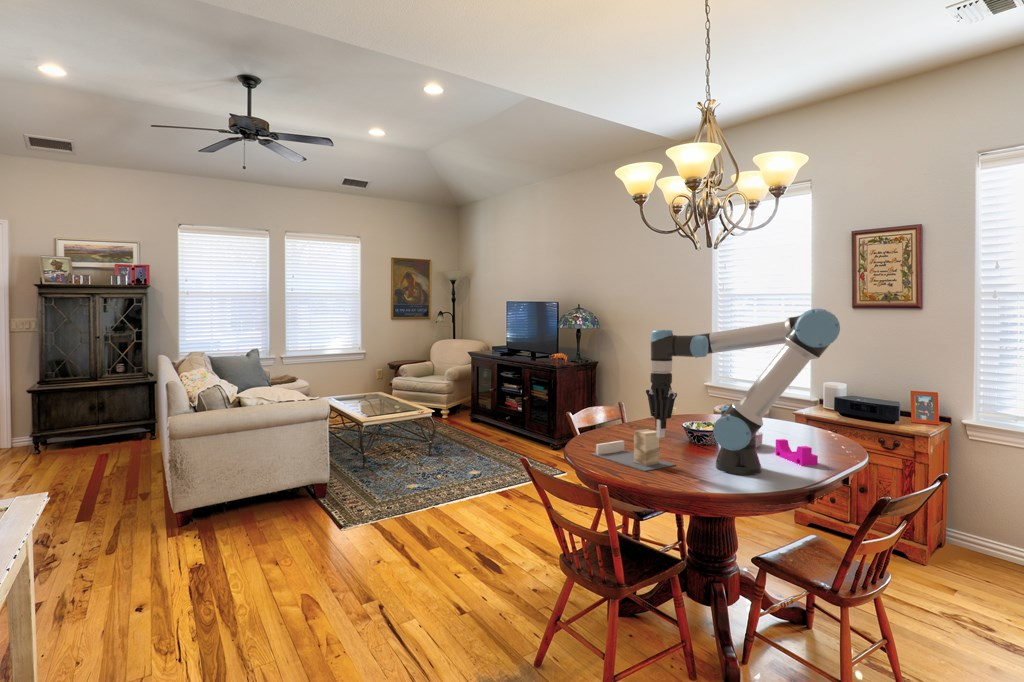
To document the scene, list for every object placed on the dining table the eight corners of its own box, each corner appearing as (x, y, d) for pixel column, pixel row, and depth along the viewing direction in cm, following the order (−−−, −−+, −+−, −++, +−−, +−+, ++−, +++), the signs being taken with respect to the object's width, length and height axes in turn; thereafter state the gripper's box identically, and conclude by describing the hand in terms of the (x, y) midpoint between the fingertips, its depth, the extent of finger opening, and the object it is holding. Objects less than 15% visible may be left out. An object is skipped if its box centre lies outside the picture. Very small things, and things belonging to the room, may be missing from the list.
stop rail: (624, 450, 219) (624, 440, 218) (598, 454, 211) (598, 444, 211) (622, 450, 220) (622, 440, 219) (596, 454, 212) (596, 444, 212)
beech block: (659, 463, 198) (659, 431, 197) (645, 466, 194) (645, 433, 194) (647, 460, 203) (647, 429, 202) (633, 462, 199) (634, 431, 199)
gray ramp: (675, 465, 196) (675, 464, 196) (644, 471, 188) (644, 470, 188) (619, 449, 222) (619, 448, 222) (590, 454, 214) (590, 453, 214)
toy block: (817, 467, 194) (817, 447, 194) (802, 468, 193) (802, 448, 193) (789, 457, 209) (790, 438, 209) (775, 458, 208) (775, 439, 208)
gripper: (682, 373, 188) (682, 439, 188) (655, 370, 199) (654, 432, 200) (668, 374, 184) (667, 441, 184) (640, 371, 195) (640, 435, 196)
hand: (660, 437), depth 192 cm, fingers closed
